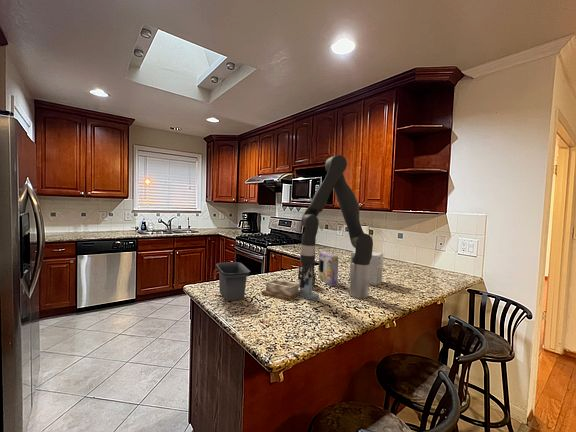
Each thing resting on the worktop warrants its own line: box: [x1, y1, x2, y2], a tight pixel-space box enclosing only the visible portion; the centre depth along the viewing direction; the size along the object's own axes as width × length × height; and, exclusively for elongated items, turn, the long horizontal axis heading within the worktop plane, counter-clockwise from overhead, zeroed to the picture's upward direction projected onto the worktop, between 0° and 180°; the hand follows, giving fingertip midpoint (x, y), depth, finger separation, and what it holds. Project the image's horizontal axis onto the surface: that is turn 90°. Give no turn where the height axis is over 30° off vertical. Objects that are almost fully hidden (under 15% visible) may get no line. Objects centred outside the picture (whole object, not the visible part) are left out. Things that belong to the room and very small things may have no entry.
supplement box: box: [349, 250, 384, 286], centre depth 185 cm, size 17×13×18 cm
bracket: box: [299, 277, 320, 301], centre depth 148 cm, size 9×4×10 cm, turn 62°
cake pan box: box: [317, 250, 339, 287], centre depth 179 cm, size 19×5×18 cm, turn 17°
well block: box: [261, 278, 300, 302], centre depth 152 cm, size 16×14×6 cm
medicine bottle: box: [298, 270, 317, 287], centre depth 170 cm, size 7×7×12 cm
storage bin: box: [213, 261, 251, 302], centre depth 145 cm, size 21×16×14 cm
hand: (305, 285), depth 149 cm, fingers open, 8 cm apart
